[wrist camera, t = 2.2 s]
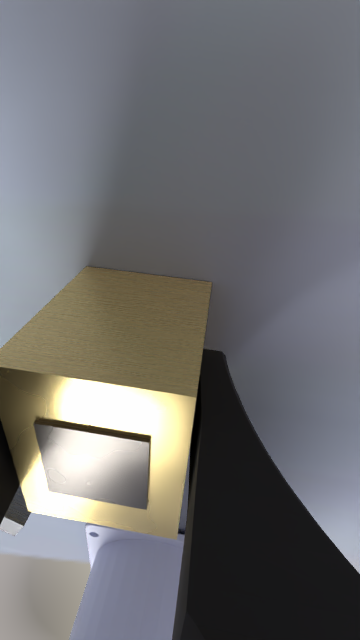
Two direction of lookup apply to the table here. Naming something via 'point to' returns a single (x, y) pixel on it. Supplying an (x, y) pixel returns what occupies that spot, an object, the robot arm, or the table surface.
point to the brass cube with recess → (107, 398)
